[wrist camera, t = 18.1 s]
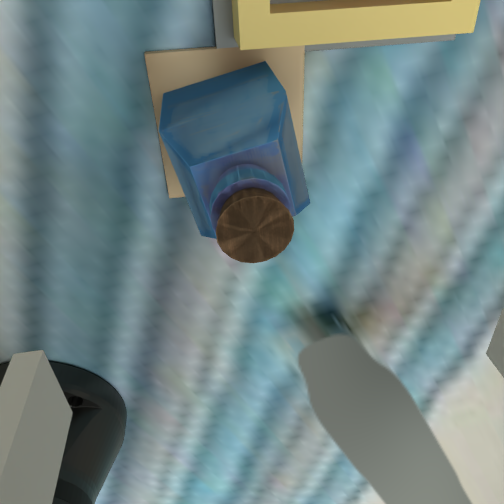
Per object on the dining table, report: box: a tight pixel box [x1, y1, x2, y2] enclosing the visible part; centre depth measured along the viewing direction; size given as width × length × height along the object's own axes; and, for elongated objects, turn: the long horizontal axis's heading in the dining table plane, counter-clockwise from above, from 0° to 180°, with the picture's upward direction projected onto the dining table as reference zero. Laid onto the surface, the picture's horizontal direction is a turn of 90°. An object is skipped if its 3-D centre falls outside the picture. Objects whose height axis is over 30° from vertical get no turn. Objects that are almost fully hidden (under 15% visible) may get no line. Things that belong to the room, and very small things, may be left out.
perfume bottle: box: [159, 61, 310, 263], centre depth 23 cm, size 6×6×12 cm
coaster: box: [144, 45, 305, 198], centre depth 28 cm, size 9×9×1 cm
